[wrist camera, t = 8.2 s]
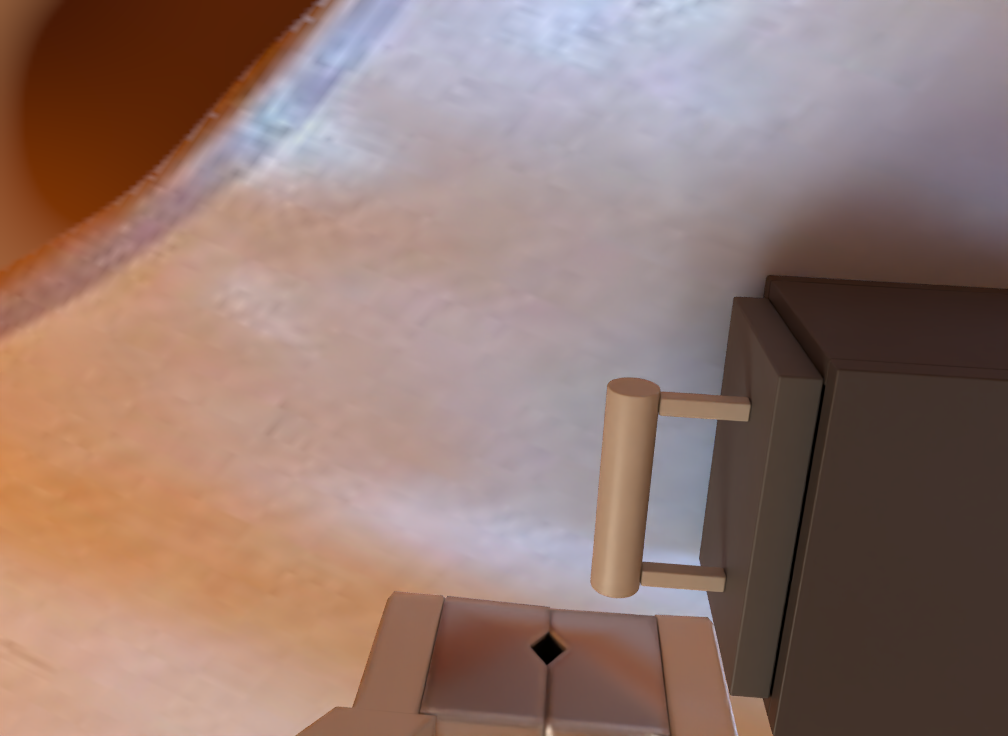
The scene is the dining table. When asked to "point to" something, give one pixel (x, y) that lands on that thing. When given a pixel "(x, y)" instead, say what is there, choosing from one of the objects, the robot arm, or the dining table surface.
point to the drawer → (721, 488)
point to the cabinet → (899, 514)
